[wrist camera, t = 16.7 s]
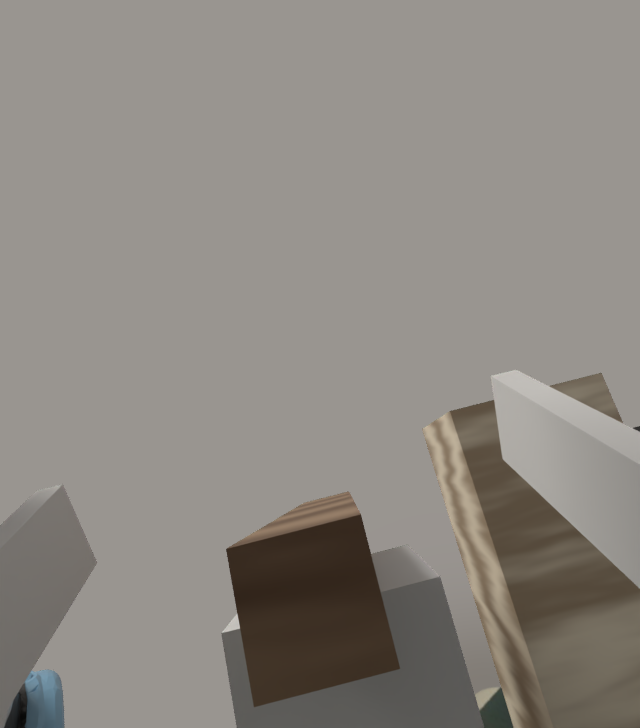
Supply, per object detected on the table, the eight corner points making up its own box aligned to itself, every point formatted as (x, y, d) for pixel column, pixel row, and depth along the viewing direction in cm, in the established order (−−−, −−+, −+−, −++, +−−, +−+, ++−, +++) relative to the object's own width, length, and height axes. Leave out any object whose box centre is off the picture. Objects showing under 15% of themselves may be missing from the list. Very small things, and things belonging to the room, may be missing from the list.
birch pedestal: (809, 854, 26) (601, 372, 33) (612, 908, 25) (449, 411, 33) (663, 737, 37) (534, 400, 45) (528, 774, 37) (422, 429, 45)
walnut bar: (400, 669, 12) (360, 514, 13) (253, 707, 12) (226, 548, 13) (360, 539, 37) (348, 491, 38) (314, 551, 37) (303, 502, 38)
